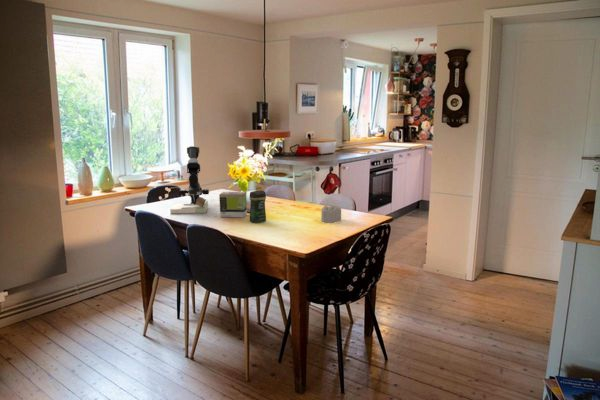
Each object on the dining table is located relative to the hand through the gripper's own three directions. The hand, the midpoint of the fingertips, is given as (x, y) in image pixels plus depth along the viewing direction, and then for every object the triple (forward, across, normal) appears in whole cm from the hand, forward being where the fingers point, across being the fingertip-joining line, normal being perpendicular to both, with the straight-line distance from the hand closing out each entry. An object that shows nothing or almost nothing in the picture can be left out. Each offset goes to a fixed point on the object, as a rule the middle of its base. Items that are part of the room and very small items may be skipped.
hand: (194, 204), depth 307 cm
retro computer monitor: (+4, +26, -16) cm, 31 cm away
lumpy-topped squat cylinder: (+4, +84, -35) cm, 91 cm away
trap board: (+4, -3, 0) cm, 5 cm away
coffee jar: (+4, +41, -33) cm, 52 cm away
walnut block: (0, +3, 0) cm, 3 cm away
